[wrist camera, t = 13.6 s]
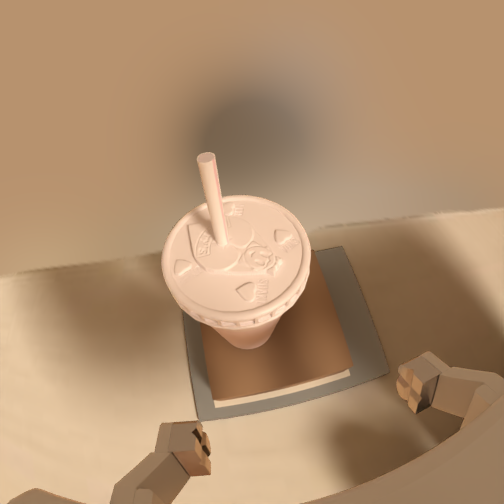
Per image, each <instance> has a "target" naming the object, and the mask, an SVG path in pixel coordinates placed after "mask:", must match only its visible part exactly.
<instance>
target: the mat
mask: <svg viewBox="0 0 504 504" xmlns="http://www.w3.org/2000/svg"><path fill="white" fill-rule="evenodd" d="M315 255H316V257H317V260H318V263H319V265H320V268H321V271H322V273H323V276H324V279H325V282H326V284H327V287H328V290H329V293H330V295H331V298H332V301H333V304H334V307H335V310H336V313H337V316H338V319H339V321H340V324H341V327H342V330H343V333H344V337H345V340H346V343H347V346H348V349H349V352H350V355H351V359H352V362H353V365H354V366H352V367H351V368H349V369H347V370H345V371H344V372H341V373H338V374H335V375H332V376H328V377H325V378H322V379H318V380H315V381H311V382H308V383H304V384H300V385H297V386H293V387H289V388H285V389H280V390H276V391H272V392H267V393H263V394H258V395H253V396H248V397H242V398H237V399H231V400H225V401H216V400H213V399H212V394H211V389H210V383H209V377H208V372H207V366H206V360H205V353H204V347H203V341H202V334H201V327H200V322H199V321H197V320H195V319H194V318H192V317H191V316H190V315H189V314H187V313H186V312H185V311H184V310H183V318H184V326H185V335H186V343H187V350H188V358H189V364H190V371H191V378H192V384H193V390H194V396H195V402H196V407H197V412H198V418H199V421H200V422H202V421H211V420H218V419H225V418H232V417H238V416H244V415H250V414H255V413H260V412H265V411H270V410H274V409H279V408H283V407H287V406H291V405H295V404H299V403H303V402H306V401H310V400H313V399H317V398H320V397H323V396H327V395H330V394H333V393H336V392H339V391H342V390H345V389H348V388H351V387H354V386H357V385H359V384H362V383H365V382H367V381H370V380H372V379H375V378H377V377H380V376H382V375H385V374H387V373H390V370H389V367H388V364H387V361H386V358H385V355H384V352H383V349H382V346H381V343H380V340H379V337H378V334H377V331H376V329H375V326H374V323H373V320H372V318H371V315H370V312H369V310H368V307H367V304H366V302H365V299H364V297H363V294H362V292H361V289H360V287H359V284H358V282H357V279H356V277H355V274H354V272H353V270H352V267H351V265H350V263H349V260H348V258H347V256H346V253H345V251H344V249H343V247H342V246H340V247H336V248H331V249H327V250H322V251H318V252H315Z"/></svg>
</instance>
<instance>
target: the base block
mask: <svg viewBox="0 0 504 504" xmlns="http://www.w3.org/2000/svg"><path fill="white" fill-rule="evenodd" d="M200 327H201V334H202V341H203V347H204V353H205V360H206V366H207V372H208V377H209V383H210V389H211V394H212V399H213V400H216V401H225V400H231V399H237V398H242V397H248V396H253V395H258V394H263V393H267V392H272V391H276V390H280V389H285V388H289V387H293V386H297V385H300V384H304V383H308V382H311V381H315V380H318V379H322V378H325V377H328V376H332V375H335V374H338V373H341V372H344V371H345V370H347V369H349V368H351V367H352V366H354V365H353V362H352V359H351V355H350V352H349V349H348V346H347V343H346V340H345V337H344V333H343V330H342V327H341V324H340V321H339V319H338V316H337V313H336V310H335V307H334V304H333V301H332V298H331V295H330V293H329V290H328V287H327V284H326V282H325V279H324V276H323V273H322V271H321V268H320V265H319V263H318V260H317V257H316V255H315V252H314V250H311V261H310V272H309V276H308V279H307V282H306V285H305V289H304V291H303V292H302V294H301V295H300V296H299V298H298V299H297V301H296V302H295V303H294V305H293V306H292V307H291V308H289V309H288V310H287V311H286V312H284V313H283V314H282V316H281V318H280V319H279V321H278V323H277V325H276V327H275V328H274V330H273V332H272V334H271V336H270V337H269V339H268V340H267V341H266V342H265V343H264V344H263V345H261V346H259V347H257V348H254V349H240V348H237V347H235V346H233V345H232V344H230V343H229V342H228V341H227V340H226V339H225V338H224V337H222V336H221V335H220V334H219V333H218V332H217V331H216V330H215V329H213V328H212V327H211V326H209V325H207V324H204V323H202V322H200Z"/></svg>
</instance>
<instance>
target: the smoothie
mask: <svg viewBox="0 0 504 504" xmlns="http://www.w3.org/2000/svg"><path fill="white" fill-rule="evenodd" d="M197 162H198V167H199V171H200V176H201V180H202V185H203V189H204V193H205V198H206V202H205V203H203V204H201V205H199V206H197V207H195V208H194V209H192V210H191V211H189V212H188V213H187V214H185V215H184V216H183V217H182V218H181V219H180V220H179V221H178V222H177V223H176V224H175V226H174V227H173V229H172V230H171V231H170V233H169V235H168V237H167V239H166V241H165V244H164V247H163V252H162V261H161V262H162V272H163V276H164V279H165V282H166V284H167V286H168V288H169V290H170V293H171V295H172V296H173V298H174V299H175V301H176V302H177V303H178V305H179V306H180V308H181V309H182V310H184V311H185V312H186V313H187V314H189V315H190V316H191V317H192V318H194V319H195V320H197V321H199V322H202V323H204V324H207V325H209V326H211V327H212V328H213V329H215V330H216V331H217V332H218V333H219V334H220V335H221V336H222V337H224V338H225V339H226V340H227V341H228V342H229V343H230V344H232V345H233V346H235V347H237V348H240V349H254V348H257V347H259V346H261V345H263V344H264V343H265V342H266V341H267V340H268V339H269V337H270V336H271V334H272V332H273V330H274V328H275V327H276V325H277V323H278V321H279V319H280V318H281V316H282V314H283V313H284V312H286V311H287V310H288V309H289V308H291V307H292V306H293V305H294V303H295V302H296V301H297V299H298V298H299V296H300V295H301V294H302V292H303V291H304V289H305V285H306V282H307V279H308V276H309V272H310V261H311V248H310V243H309V239H308V236H307V234H306V231H305V230H304V228H303V226H302V225H301V223H300V222H299V220H298V219H296V217H295V216H294V215H293V214H292V213H291V212H289V211H288V210H287V209H285V208H284V207H282V206H280V205H278V204H277V203H275V202H272V201H270V200H267V199H264V198H260V197H255V196H247V195H231V196H225V197H222V195H221V190H220V184H219V178H218V172H217V166H216V160H215V155H214V154H213V153H209V152H207V153H202V154H200V155H199V156H198V157H197Z"/></svg>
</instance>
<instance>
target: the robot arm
mask: <svg viewBox="0 0 504 504" xmlns="http://www.w3.org/2000/svg"><path fill="white" fill-rule="evenodd" d="M398 373H399V374H400V376H399V377H398V379H397V383H396V387H397V392H398V394H399V396H400V397H401V398H402V399H404V400H408V406H409V407H410V409H411V410H412V411H413V412H414V413H415V414H417V413H419V412H420V411H422V410H424V409H426V408H428V407H430V406H431V407H433V408H436V409H439V410H441V411H444V412H447V413H450V414H453V415H456V416H459V417H461V418H464V420H463V422H462V424H461V427H460V430H459V431H458V432H457V433H455V434H454V435H452V436H451V437H449V438H448V439H446V440H445V441H443V442H442V443H440V444H439V445H437V446H436V447H434V448H432V449H431V450H429V451H428V452H426V453H424V454H422V455H421V456H419V457H417V458H415V459H414V460H412V461H410V462H408V463H406V464H404V465H402V466H400V467H398V468H396V469H394V470H392V471H390V472H388V473H386V474H384V475H382V476H380V477H377V478H375V479H373V480H370V481H368V482H366V483H363V484H361V485H358V486H355V487H353V488H350V489H347V490H345V491H342V492H339V493H336V494H333V495H330V496H326V497H323V498H320V499H316V500H313V501H309V502H305V503H301V504H504V378H502V377H501V376H500V375H498V374H497V373H495V372H487V371H480V370H473V369H466V368H460V367H451V368H450V367H449V366H448V365H447V364H445V363H444V362H443V361H442V360H440V359H439V358H438V357H437V356H435V355H434V354H433V353H432V352H430V351H427V352H425V353H423V354H421V355H419V356H417V357H415V358H413V359H411V360H409V361H407V362H405V363H402V364H400V366H399V367H398ZM202 427H203V426H202V424H201V422H200V421H198V420H197V421H184V422H170V423H162V424H161V425H160V428H159V432H158V437H157V442H156V447H155V452H154V453H150V454H149V455H148V456H147V457H146V458H145V459H143V460H142V461H141V462H140V463H139V464H138V465H137V466H136V467H135V468H134V469H132V470H131V471H130V472H129V473H128V474H127V475H126V476H124V477H123V478H122V479H121V480H120V481H119V482H117V483H116V484H115V486H114V489H113V493H112V497H111V501H110V504H171V503H172V502H173V500H174V499H175V498H176V496H177V495H178V494H179V492H180V491H181V489H182V488H183V487H184V485H185V484H186V483H187V481H188V480H189V478H190V477H191V476H204V475H211V462H210V460H209V458H208V456H209V455H210V454H211V448H210V442H209V439H208V436H207V434H206V433H205V432H203V431H202ZM7 504H85V503H82V502H78V501H74V500H71V499H68V498H65V497H61V496H58V495H55V494H53V493H50V492H47V491H45V490H42V489H38V488H34V489H31V490H28V491H26V492H24V493H22V494H21V495H19V496H17V497H15V498H13V499H11V500H10V501H9V502H8V503H7Z"/></svg>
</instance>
